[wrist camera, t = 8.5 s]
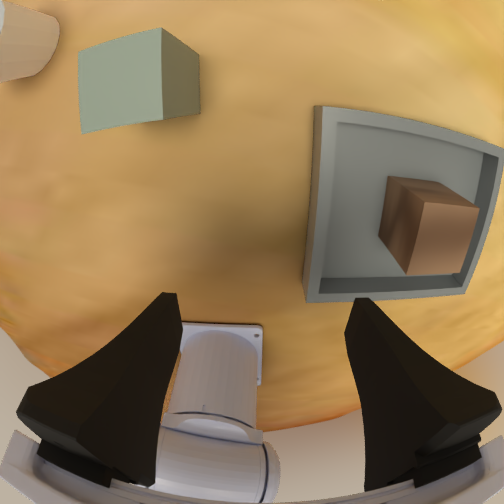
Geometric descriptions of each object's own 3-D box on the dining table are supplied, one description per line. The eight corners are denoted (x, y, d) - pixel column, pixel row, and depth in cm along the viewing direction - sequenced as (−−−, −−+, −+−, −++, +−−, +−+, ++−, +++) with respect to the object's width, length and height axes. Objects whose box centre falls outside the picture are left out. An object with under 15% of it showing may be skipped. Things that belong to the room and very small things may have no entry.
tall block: (200, 113, 15) (163, 119, 9) (141, 120, 16) (81, 134, 10) (199, 54, 13) (161, 27, 7) (139, 64, 14) (78, 51, 8)
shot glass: (20, 99, 14) (-41, 113, 8) (7, 45, 10) (-48, 48, 4) (73, 49, 12) (7, 43, 6) (59, -6, 9) (2, -20, 3)
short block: (426, 237, 18) (459, 272, 14) (377, 236, 19) (406, 275, 14) (438, 181, 16) (479, 208, 12) (387, 175, 16) (424, 201, 12)
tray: (451, 278, 21) (464, 294, 19) (302, 282, 21) (305, 302, 19) (486, 142, 14) (505, 149, 12) (314, 105, 15) (322, 106, 13)
